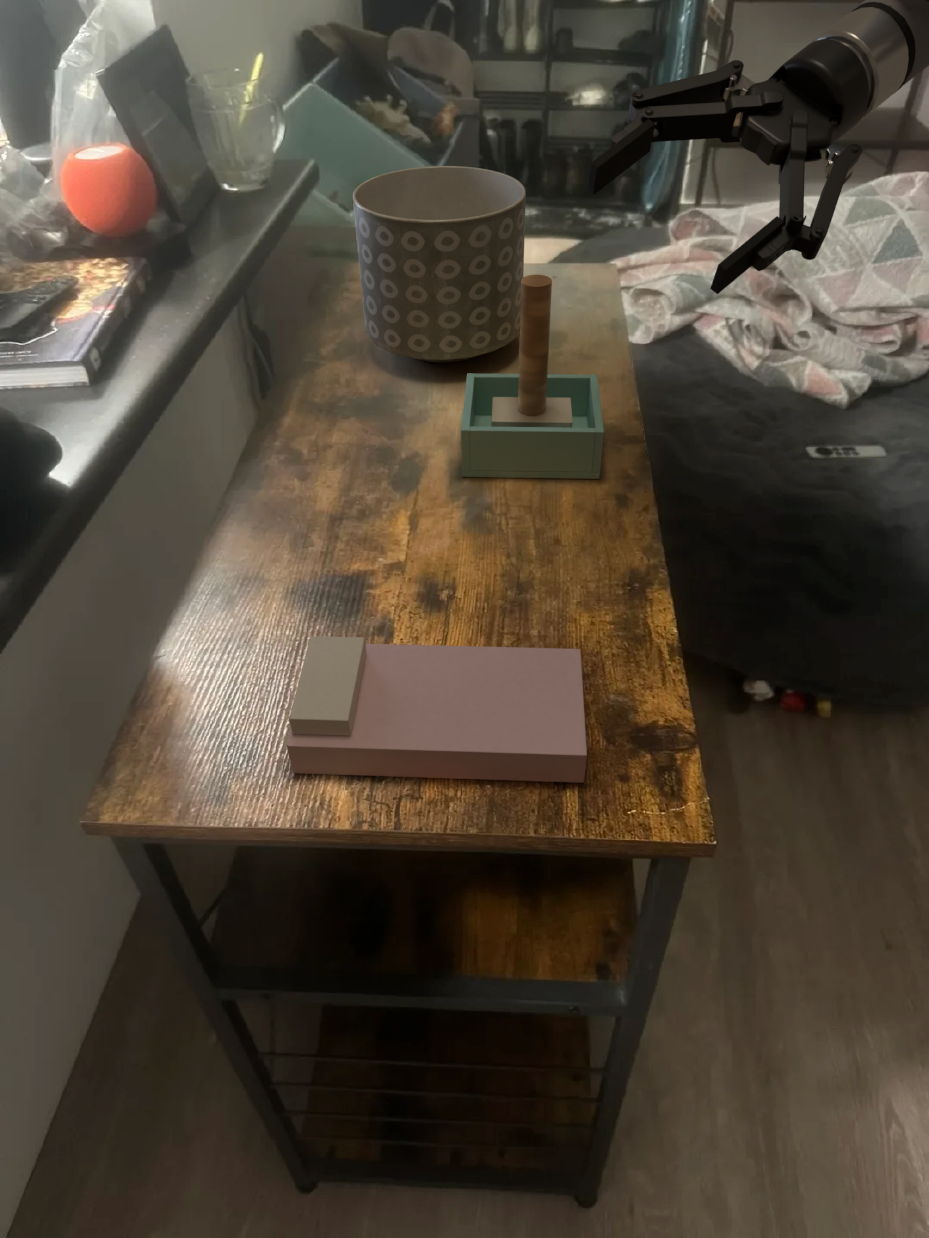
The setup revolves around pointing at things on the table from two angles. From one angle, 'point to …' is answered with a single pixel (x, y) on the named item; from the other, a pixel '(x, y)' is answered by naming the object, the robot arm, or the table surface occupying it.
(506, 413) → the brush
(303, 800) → the table surface
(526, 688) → the bed
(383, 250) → the planter
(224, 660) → the table surface
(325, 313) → the table surface
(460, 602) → the table surface
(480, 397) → the green open box
